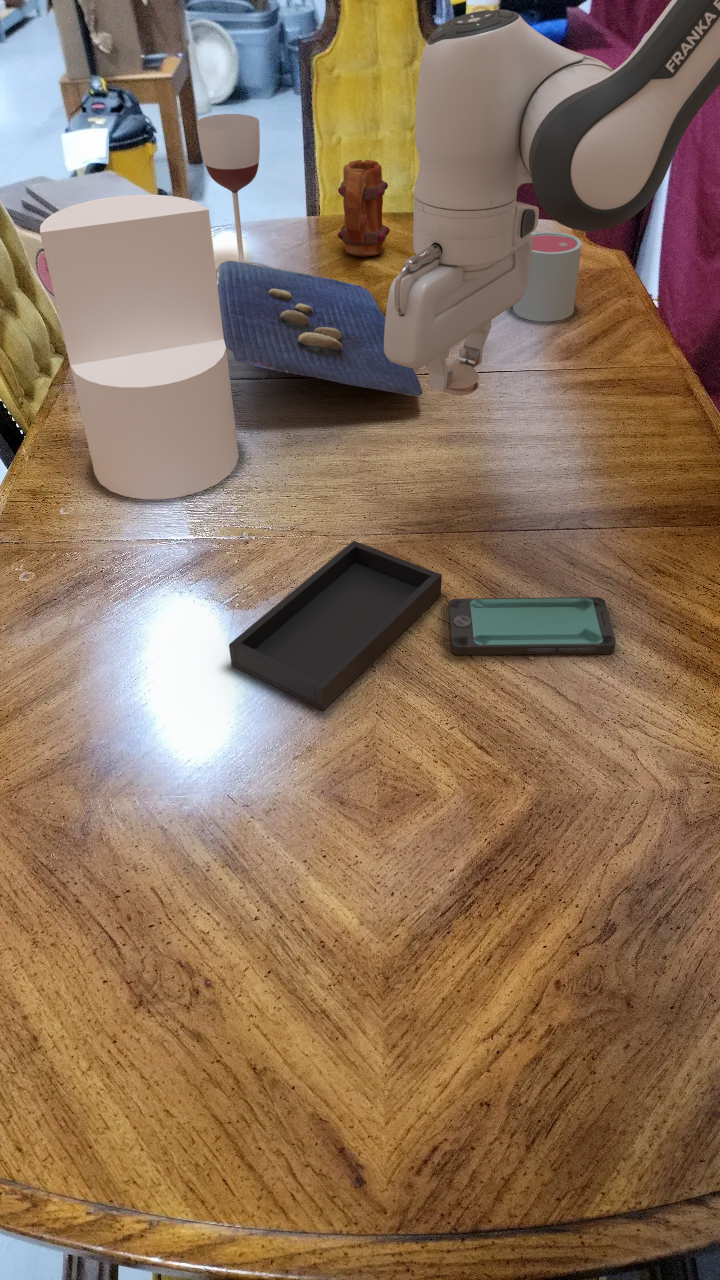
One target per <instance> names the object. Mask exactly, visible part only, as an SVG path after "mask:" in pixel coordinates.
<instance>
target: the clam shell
mask: <svg viewBox="0 0 720 1280" xmlns="http://www.w3.org/2000/svg"><path fill="white" fill-rule="evenodd" d="M447 367H448V368H451V369H453V376H452V384H451V385H450V386H448V387H447V388H446V389H444V390H443V391H442V392H444V393H447V394H450V395H453V396H459V397H460V396H468V395H471V394H473V393H474V392H476V391H477V390H478V388H479V382H478V381H479V379H480V375H479V373H478V371H477V370H476V369H475V367H474V368H473V367H472V366H469V365H466V364H459V363H457V364H452V365H449V366H447ZM428 381H429V379H427V382H428Z"/></svg>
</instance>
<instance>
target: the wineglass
mask: <svg viewBox="0 0 720 1280" xmlns="http://www.w3.org/2000/svg"><path fill="white" fill-rule="evenodd" d="M196 129H197V134H198V135H197V136H198V141H199V146H200V147H199V148H200V152H201V155H202V159H203V163H204V166H205V168H206V171H207V173H208V176H209V177H210V178H211V179H212V180H213V181H214V183H216V184H218V185H219V186H221V187H223V188H225V189H227V190H228V191H229V192H231V195H232V206H233V215H234V223H235V225H234V226H235V234H236V235H235V236H236V245H237V255H238V262H243V263H245V255H244V243H243V233H242V224H241V214H240V203H239V193H238V192H239V191H240V190H243V188H245V187H247V186H248V185H249V184H251V183H252V182H253V181H254V180H255V178H256V176H257V173H258V170H259V165H260V153H261V146H260V145H261V144H260V143H261V141H260V140H261V137H260V135H261V134H260V120H259V118H257V117H255V116H253V115H248V114H243V113H223V114H222V113H221V114H212V115H209V116H204V117H201V118H199V119H198V120H196ZM252 264H253V265H259V266H262V264H257V263H252ZM216 277H217V279H219V270H218V271H217V272H216Z"/></svg>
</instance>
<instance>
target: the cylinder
mask: <svg viewBox="0 0 720 1280" xmlns="http://www.w3.org/2000/svg"><path fill="white" fill-rule="evenodd" d="M211 226H212V225H211V218H210V209H209V208H208V207H206V206H205V205H203V204H202V203H201V202H198V201H194V200H192V199H189V198H184V197H179V196H174V195H166V194H165V195H163V194H126V195H116V196H109V197H103V198H96V199H91V200H87V201H85V202H79V203H76V204H72V205H70V206H67V207H65V208H62V209H60V210H57V211H56V212H54V213H52V214H51V215H49V216H47V217H46V218H45V219H44V220H43V222H42V223H41V224H40V225H39V236H40V239H41V244H42V249H43V253H44V257H45V262H46V265H47V270H48V274H49V279H50V283H51V287H52V293H53V297H54V301H55V305H56V310H57V314H58V318H59V322H60V327H61V331H62V332H61V333H62V336H63V340H64V345H65V349H66V353H67V354H66V355H67V358H68V363H69V367H70V371H71V376H72V380H73V384H74V385H73V386H74V388H75V394H76V397H77V402H78V406H79V410H80V416H81V419H82V423H83V429H84V434H85V437H86V441H87V446H88V450H89V456H90V459H91V464H92V467H93V472H94V476H95V477H96V479H97V481H98V482H99V484H100V485H101V486H103V487H104V488H105V489H107V491H110V492H111V493H114V494H117V495H120V496H123V497H126V498H133V499H139V500H168V499H174V498H175V499H176V498H183V497H186V496H189V495H193V494H197V493H201V492H203V491H205V490H207V489H209V488H211V487H214V486H216V485H217V484H219V483H220V482H222V481H223V480H225V479H226V478H227V477H228V476H230V475H231V473H232V472H233V471H234V470H235V468H236V467H237V464H238V460H239V457H240V456H239V455H240V454H239V446H238V437H237V429H236V421H235V412H234V405H233V404H234V403H233V396H232V395H233V394H232V386H231V376H230V369H229V359H228V351H227V348H226V345H225V342H224V336H223V328H222V319H221V311H220V302H219V294H218V276H217V270H216V269H217V268H216V262H215V261H216V260H215V254H214V253H215V252H214V244H213V235H212V227H211Z"/></svg>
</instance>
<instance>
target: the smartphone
mask: <svg viewBox="0 0 720 1280" xmlns="http://www.w3.org/2000/svg"><path fill="white" fill-rule="evenodd" d="M448 618H449V619H448V621H449V632H450V644H451V645H450V647H451V652H452V653H453V654H455V655H458V656H475V655H477V656H478V655H479V656H481V655H482V656H483V655H485V656H487V655H489V656H490V655H493V656H494V655H579V654H580V655H581V654H583V655H584V654H585V655H586V654H587V655H591V654H593V655H594V654H596V655H597V654H600V655H601V654H611V653H614V652H615V649H616V645H617V644H616V643H617V640H616V637H615V633H614V632H615V631H614V629H613V625H612V622H611V618H610V614H609V611H608V606H607V602H606V600H605V599H604V598H602V597H600V596H572V597H571V596H569V597H568V596H566V597H558V596H557V597H489V598H488V597H487V598H484V597H483V598H482V597H481V598H479V597H478V598H477V597H476V598H474V597H473V598H453V599H450V600H449V601H448Z"/></svg>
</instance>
